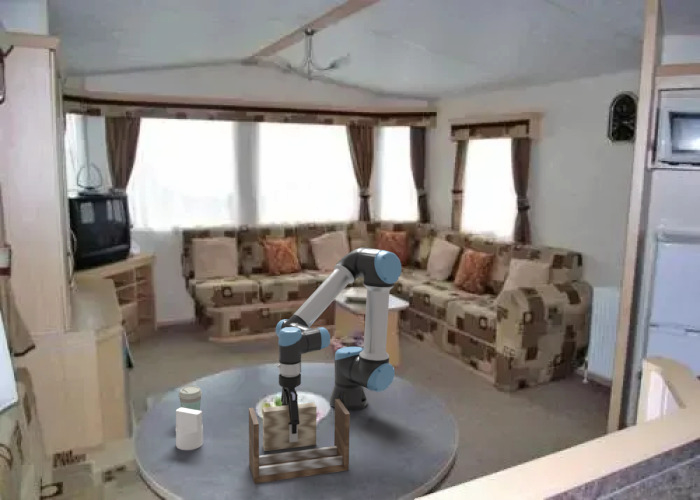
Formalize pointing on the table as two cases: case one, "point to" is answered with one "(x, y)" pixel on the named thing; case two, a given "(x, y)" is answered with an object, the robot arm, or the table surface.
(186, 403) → the coffee cup
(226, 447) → the table surface
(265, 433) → the door panel
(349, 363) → the robot arm
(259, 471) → the wooden rack
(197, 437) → the white block
